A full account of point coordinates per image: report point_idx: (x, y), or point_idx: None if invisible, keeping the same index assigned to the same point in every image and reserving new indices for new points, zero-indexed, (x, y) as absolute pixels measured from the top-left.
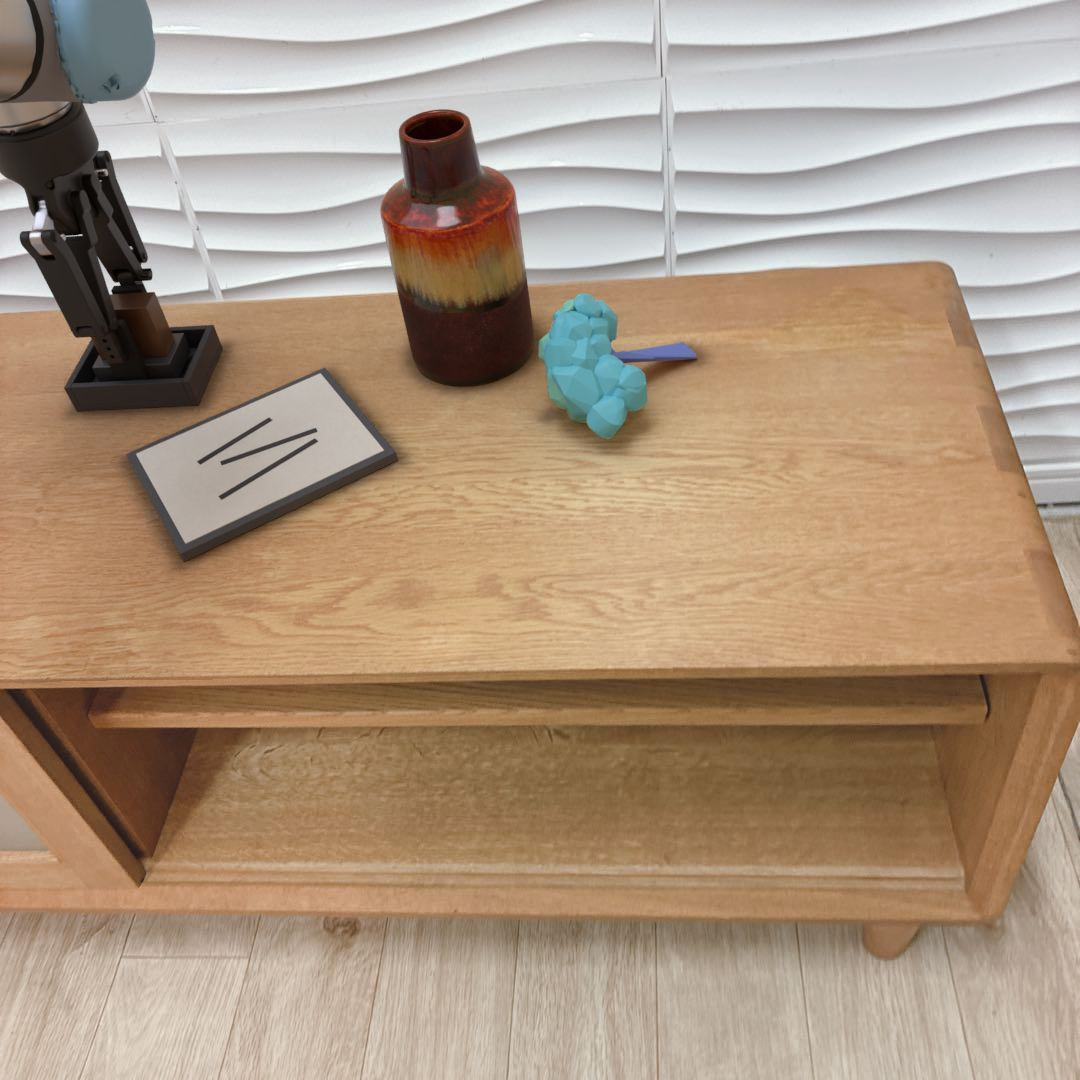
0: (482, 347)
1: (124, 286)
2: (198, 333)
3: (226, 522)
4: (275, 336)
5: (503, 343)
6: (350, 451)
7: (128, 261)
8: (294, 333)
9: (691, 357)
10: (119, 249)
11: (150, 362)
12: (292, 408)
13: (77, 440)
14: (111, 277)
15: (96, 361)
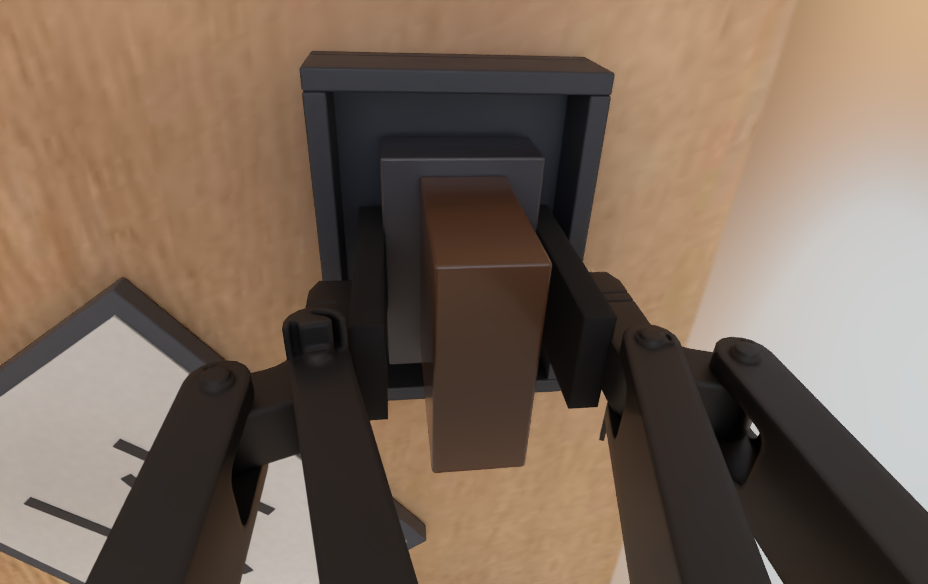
0: None
1: (600, 354)
2: (546, 354)
3: None
4: (562, 427)
5: None
6: None
7: (615, 487)
8: (564, 453)
9: None
10: (625, 544)
11: (398, 319)
12: (304, 531)
13: (180, 104)
14: (624, 349)
15: (413, 162)
